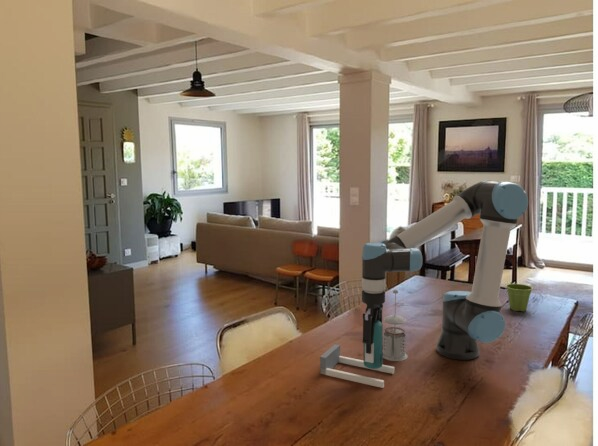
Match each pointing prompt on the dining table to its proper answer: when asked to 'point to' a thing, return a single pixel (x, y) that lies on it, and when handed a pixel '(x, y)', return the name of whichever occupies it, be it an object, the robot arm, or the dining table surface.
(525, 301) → the plant pot
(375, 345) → the beverage bottle
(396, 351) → the french press
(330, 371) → the guide track
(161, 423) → the dining table surface
